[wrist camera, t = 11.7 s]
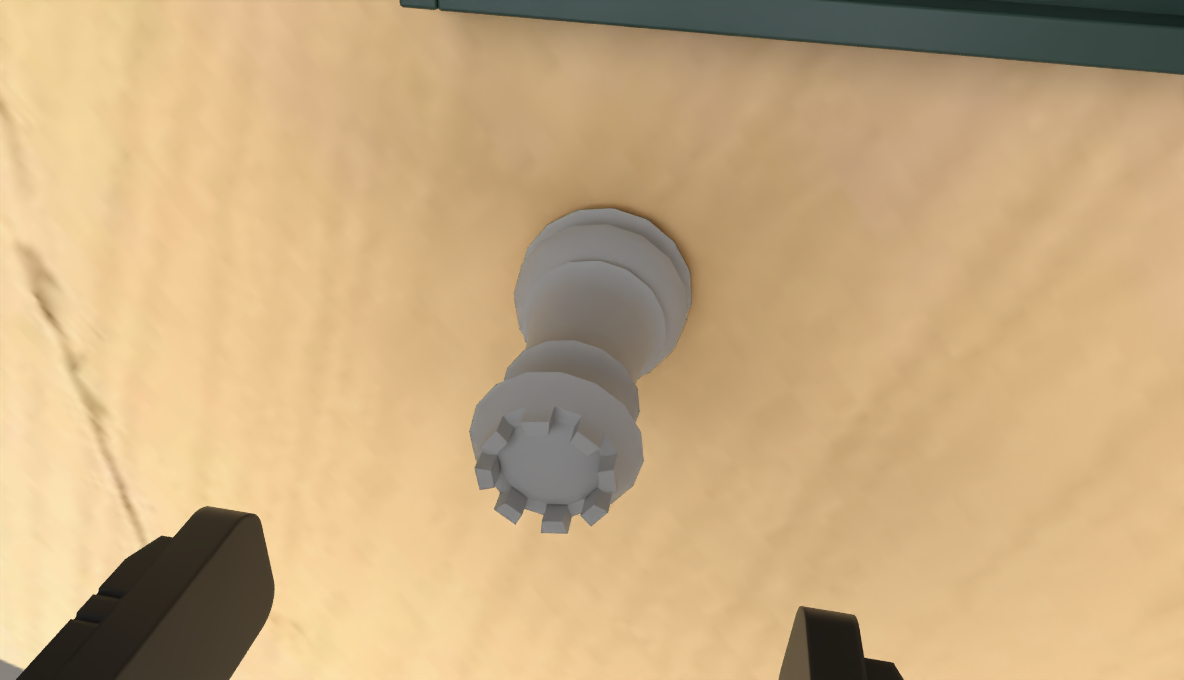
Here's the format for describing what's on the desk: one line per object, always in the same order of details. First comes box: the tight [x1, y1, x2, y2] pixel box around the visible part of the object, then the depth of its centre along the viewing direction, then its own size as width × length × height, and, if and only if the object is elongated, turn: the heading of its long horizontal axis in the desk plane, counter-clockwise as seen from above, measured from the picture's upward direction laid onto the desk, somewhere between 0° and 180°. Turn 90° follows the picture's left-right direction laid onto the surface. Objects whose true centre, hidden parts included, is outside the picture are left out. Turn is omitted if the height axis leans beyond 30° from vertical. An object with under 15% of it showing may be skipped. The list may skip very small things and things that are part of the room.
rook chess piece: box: [469, 208, 691, 534], centre depth 17 cm, size 4×4×8 cm
